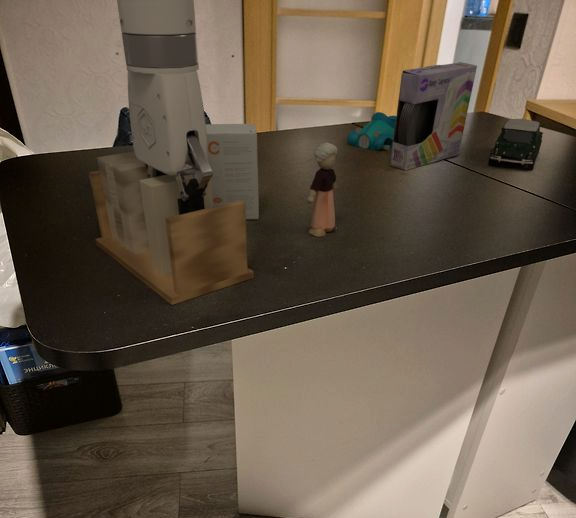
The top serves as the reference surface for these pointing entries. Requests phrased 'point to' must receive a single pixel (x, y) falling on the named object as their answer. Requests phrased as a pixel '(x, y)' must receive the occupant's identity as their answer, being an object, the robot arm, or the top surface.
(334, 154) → the grandmother figurine
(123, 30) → the robot arm
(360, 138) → the toy car
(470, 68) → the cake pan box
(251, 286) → the top surface
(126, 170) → the book rack
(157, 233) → the cream book
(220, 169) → the small box
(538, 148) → the miniature car
